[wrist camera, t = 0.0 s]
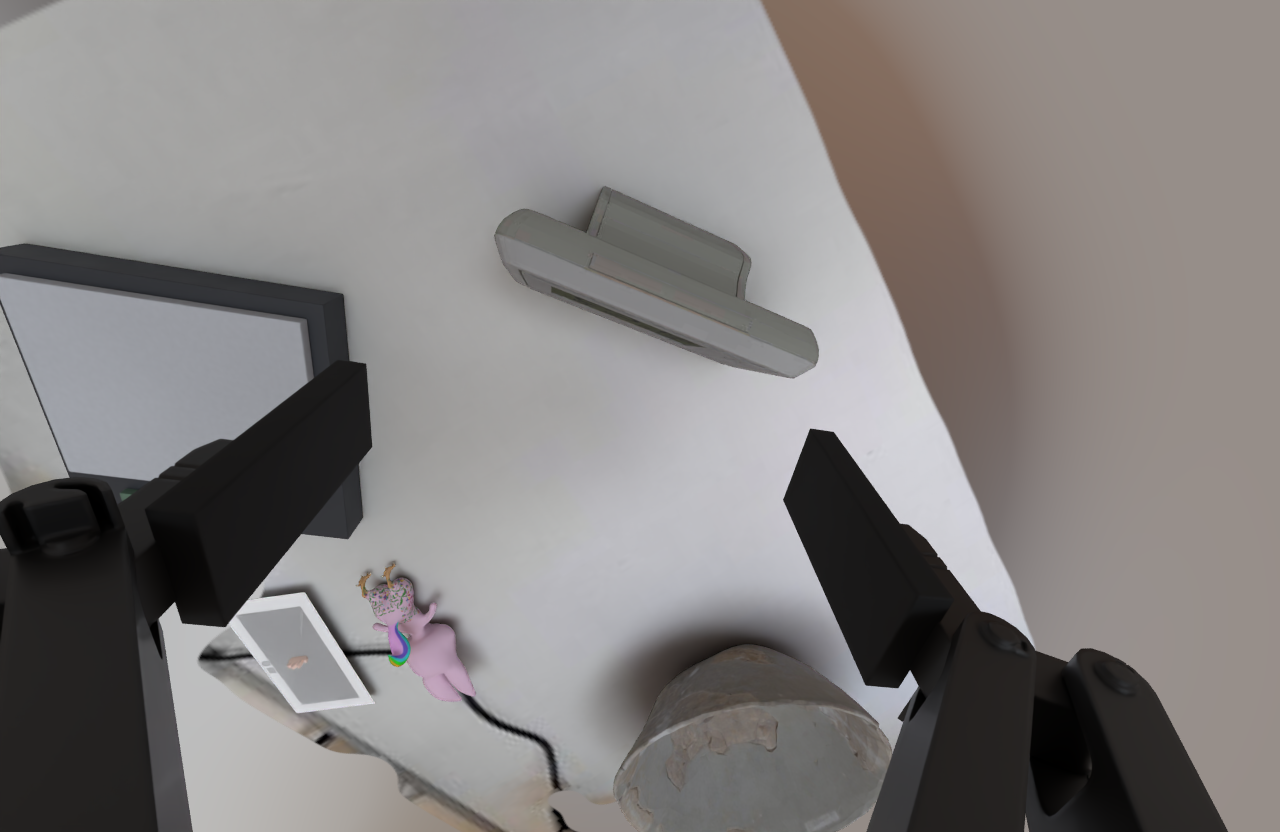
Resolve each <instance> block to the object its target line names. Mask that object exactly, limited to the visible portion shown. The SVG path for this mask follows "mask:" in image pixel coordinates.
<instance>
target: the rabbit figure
mask: <svg viewBox="0 0 1280 832" xmlns="http://www.w3.org/2000/svg"><path fill="white" fill-rule="evenodd" d="M393 567H395V563H394V562H393V564H392V566H390V567H388V568H386V567H385V569H386V570H385V571H384V575H382V576H381V577H384V576H386V579H387V582H388V585H385V584H382V585H379V586H377V587H375V588H374V589H372V590H370V591H368V590H366V588H365V582H366V579H367V578H369V576H370V575H371V572H370V575H368V572H367V576H364V577H363V576H362V577H361V580H360V581H359V585H356V586H357V587H358V586H360V585H361V589H362V597H364V598H366V599H368V600H369V602H370V603H371V605H372V608H373V611H374V614H375V616H376V617H377V618H378V619H379V620H381V621H382V622H384V623H386V624H387V625H388V626H386V625H382V624H380V623H375V624H374V625H373V629H374V630H378V631H383V632H388V637H389V644H390V648H391V651H392V656H390V655H388V657H389V661H390V663H391V664H392V665H394V666H396V667H399V666H401V665H403V664H404V663H405V662H406V661H407V663H408V665H409V666H410V668H411V669H412V670H413V672H414V673H415V674H417V675H418V676H421V677H423V684H424V686H425V687H426V689H427V690H428V691H429V692H430V693H431V694H432V695H433V696H434V697H435V698H437V699H439V700H442V701H449V702H455V701H461V700H462V698H461V697H460V696H459V694H458V693H457V691H456V690H455V689H454V688H453V686H452V685H451V684H453V685H454V686H455V687H456V689H458V690H459V691H460V692H462V693H464V694H467V695H470V696H472V697H474V696H475V695H476V692H475V690H474V687H473V685H472V683H471V681H470V678H469V675H468V673H467V670H466V668H465V667H464V665H463V663H462V662H461V661H460V660H459V658H458V657H457V653H456V640H455V632H454V631H453V629H452V628H451V627H450V626H448V625H446V624H439V623H434V624H431V623H428V622H429V621H430V620H431V619H432V617H433V616H434V614H435V611H436V608H437V604H436V603H431V604H430V607H429V612H428V613H426V614H422V613H421V611H420V610H419V609H418V608H417V607H415V606H414V590H413V585H412V583H411V582H410V581H409V580H408V579H406V578H397V579H395V580H394V581H393V582H391V581H390V577H389V576H390V572H391V570H392V569H393ZM402 633H408V634H410V635H411V636H409V637H408V638H406V637H405V636H404V635H403V634H402Z"/></svg>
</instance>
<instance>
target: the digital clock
mask: <svg viewBox="0 0 1280 832" xmlns="http://www.w3.org/2000/svg"><path fill="white" fill-rule="evenodd" d="M494 236H495V241H496V244H497V248H498V251H499V254H500V257H501V260H502V263H503V265H504V266H505V267H506V269H507V270H508V271H509V273H510V274H511V275H512V277H513V278H514V279H515V280H516V281H517V282H518V283H520V284H522V285H525V286H527V287H530V288H531V289H533V290H536V291H538V292H541V293H543V294H546V295H548V296H551V297H554V298H556V299H559V300H561V301H564V302H566V303H569V304H571V305H574V306H576V307H579V308H581V309H584V310H587V311H589V312H592V313H594V314H597V315H599V316H602V317H604V318H607V319H609V320H612V321H615V322H617V323H620V324H622V325H625V326H627V327H630V328H632V329H635V330H637V331H640V332H642V333H645V334H648V335H650V336H653V337H655V338H658V339H660V340H663V341H665V342H668V343H670V344H673V345H676V346H678V347H681V348H683V349H686V350H688V351H691V352H693V353H696V354H698V355H701V356H703V357H706V358H709V359H711V360H714V361H716V362H719V363H721V364H726V365H728V366H732V367H736V368H741V369H746V370H751V371H756V372H761V373H766V374H771V375H776V376H782V377H787V378H795V377H797V376H799V375H801V374H803V373H805V372H806V371H808V370H810V369H812V368H813V367H815V366H816V363H817V361H818V357H819V349H818V345H817V341H816V338H815V336H814V334H813V332H812V331H811V329H809V328H807V327H805V326H803V325H801V324H799V323H796V322H794V321H792V320H790V319H787V318H785V317H783V316H780V315H778V314H776V313H773V312H771V311H769V310H766V309H764V308H762V307H759V306H757V305H755V304H752V303H750V302H748V301H745V300H744V297H745V286H746V280H747V277H748V274H749V271H750V267H751V259H750V257H749V256H748V255H747V254H746V253H745V252H744V251H742V250H741V249H740V248H739V247H738V246H737V245H735V244H733V243H731V242H728V241H726V240H724V239H722V238H720V237H717V236H715V235H713V234H711V233H708V232H706V231H704V230H702V229H699V228H697V227H695V226H693V225H691V224H688V223H686V222H684V221H682V220H679V219H677V218H675V217H673V216H671V215H668V214H666V213H664V212H662V211H659V210H657V209H655V208H653V207H651V206H648V205H646V204H644V203H642V202H639V201H637V200H635V199H633V198H631V197H628V196H626V195H624V194H622V193H619V192H617V191H615V190H613V189H612V191H611V188H608V187H606V186H604V187H603V189H602V191H601V194H600V196H599V199H598V202H597V205H596V208H595V210H594V213H593V216H592V219H591V222H590V224H589V227H588V230H587V233H586V232H583V231H581V230H579V229H576V228H574V227H572V226H569V225H567V224H564V223H562V222H560V221H557V220H555V219H552V218H550V217H548V216H545V215H543V214H540V213H538V212H535V211H533V210H530V209H521V210H518V211H516V212H514V213H512V214H511V215H509V216H508V217H506V218H505V219H503V221H502V222H501V223H500V224H499V226H498V228H497V230H496V234H495V235H494Z"/></svg>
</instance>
